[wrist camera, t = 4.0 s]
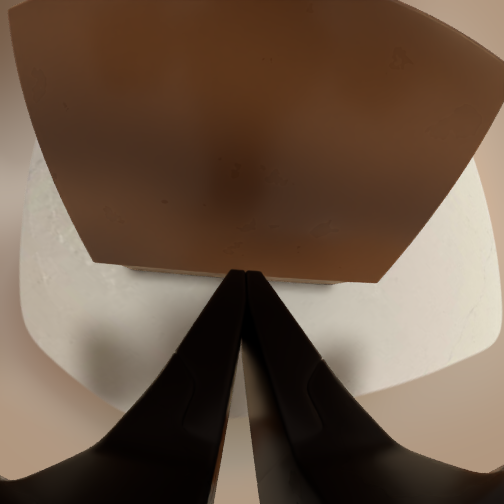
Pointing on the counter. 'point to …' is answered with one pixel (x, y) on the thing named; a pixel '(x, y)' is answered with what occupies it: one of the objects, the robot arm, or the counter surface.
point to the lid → (252, 128)
